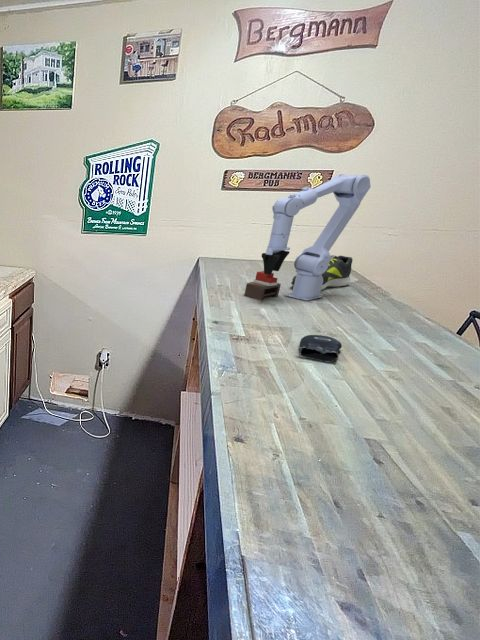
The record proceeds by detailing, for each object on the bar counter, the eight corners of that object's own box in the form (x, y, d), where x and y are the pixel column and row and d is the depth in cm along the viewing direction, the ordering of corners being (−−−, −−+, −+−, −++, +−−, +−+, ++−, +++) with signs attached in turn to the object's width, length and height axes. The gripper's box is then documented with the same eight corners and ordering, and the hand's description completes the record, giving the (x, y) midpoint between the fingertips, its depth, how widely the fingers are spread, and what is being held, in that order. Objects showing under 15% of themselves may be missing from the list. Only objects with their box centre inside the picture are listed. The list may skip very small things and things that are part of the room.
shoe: (253, 282, 175) (255, 271, 173) (260, 281, 176) (263, 270, 175) (269, 286, 169) (271, 275, 167) (276, 285, 170) (279, 274, 169)
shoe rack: (260, 292, 180) (263, 279, 178) (277, 296, 174) (281, 283, 172) (244, 295, 176) (246, 282, 174) (260, 300, 170) (263, 286, 168)
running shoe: (280, 287, 186) (288, 256, 182) (326, 279, 198) (334, 250, 193) (307, 293, 177) (315, 261, 172) (353, 285, 189) (362, 254, 184)
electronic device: (339, 369, 116) (341, 344, 126) (341, 350, 113) (344, 325, 124) (295, 365, 121) (301, 341, 132) (297, 347, 119) (303, 324, 129)
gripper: (285, 237, 153) (276, 277, 158) (299, 232, 162) (290, 271, 167) (263, 235, 158) (254, 274, 163) (278, 231, 167) (269, 268, 172)
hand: (271, 272), depth 165 cm, fingers open, 7 cm apart
